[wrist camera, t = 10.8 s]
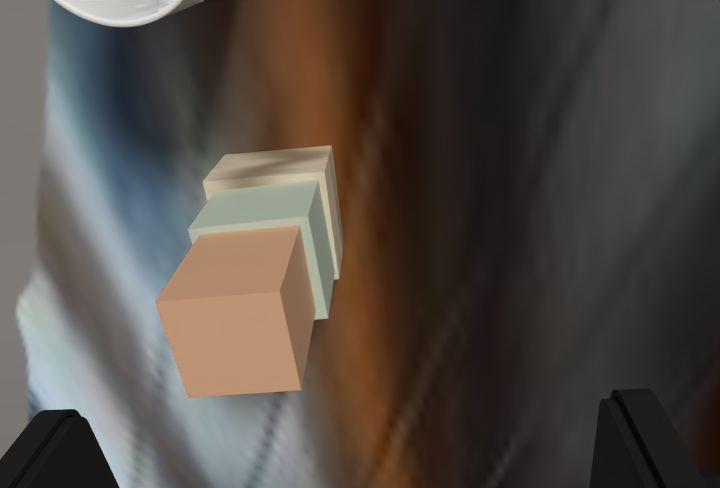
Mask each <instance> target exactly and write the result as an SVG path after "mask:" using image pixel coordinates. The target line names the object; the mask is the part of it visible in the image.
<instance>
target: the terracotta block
mask: <svg viewBox="0 0 720 488" xmlns="http://www.w3.org/2000/svg"><path fill="white" fill-rule="evenodd" d="M155 303H156V306H157V309H158V312H159V314H160V317H161V320H162V323H163V326H164V329H165V332H166V335H167V338H168V341H169V343H170V346H171V349H172V352H173V355H174V358H175V361H176V364H177V367H178V370H179V373H180V375H181V378H182V381H183V384H184V387H185V390H186V393H187V396H188V398H192V397H207V396H222V395H237V394H252V393H267V392H281V391H296V390H301V388H302V383H303V378H304V372H305V367H306V361H307V356H308V351H309V345H310V340H311V334H312V329H313V323H314V318H315V313H316V308H315V303H314V298H313V292H312V287H311V281H310V276H309V271H308V265H307V260H306V254H305V249H304V244H303V238H302V233H301V227H300V225H295V226H284V227H273V228H263V229H252V230H241V231H230V232H219V233H209V234H200V235H199V237H198V238H197V240H196V241H195V243H194V244H193V246H192V247H191V249H190V250H189V252H188V253H187V255H186V256H185V258H184V259H183V261H182V262H181V264H180V265H179V267H178V268H177V270H176V271H175V273H174V274H173V276H172V277H171V279H170V280H169V282H168V283H167V285H166V286H165V288H164V289H163V291H162V292H161V294H160V295H159V297H158V298H157V300H156V301H155Z"/></svg>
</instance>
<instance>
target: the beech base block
mask: <svg viewBox="0 0 720 488" xmlns="http://www.w3.org/2000/svg"><path fill="white" fill-rule="evenodd" d="M316 179H319V185H320V190H321V196H322V201H323V207H324V212H325V218H326V223H327V229H328V234H329V240H330V245H331V251H332V256H333V262H334V267H335V275H334V279H339V275H340V268H341V260H342V252H343V245H344V241H343V233H342V225H341V217H340V209H339V201H338V193H337V185H336V177H335V169H334V161H333V153H332V146H320V147H309V148H297V149H285V150H274V151H262V152H251V153H239V154H227V155H224V156H223V157H222V159H221V160H220V161H219V162H218V163H217V165H216V166H215V167H214V168H213V170H212V171H211V172H210V173H209V174H208V176H207V177H206V178H205V179H204V180H203V186H204V190H205V194H206V198H207V202H208V201H209V199H210V198H211V197H212V195H213V194H214V193H215V191H223V190H231V189H240V188H248V187H256V186H265V185H273V184H282V183H290V182H299V181H307V180H316Z"/></svg>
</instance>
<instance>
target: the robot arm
mask: <svg viewBox="0 0 720 488" xmlns="http://www.w3.org/2000/svg"><path fill="white" fill-rule="evenodd" d="M0 488H119V486H118V484H117V481H116V479H115V477H114V475H113V473H112V471H111V469H110V467H109V465H108V462H107V460H106V458H105V456H104V454H103V452H102V450H101V448H100V446H99V443H98V441H97V439H96V437H95V435H94V433H93V431H92V429H91V427H90V424H89V422H88V421H87V419H86V418H84V417H81V415H80V414H79V412H78V411H76V410H74V409H66V410H43V411H41V412H39V413H38V414H37V415H36V416H35V417H34V418H33V419H32V420H31V422H30V423H29V424H28V425H27V427H26V428H25V429H24V430H23V432H22V433H21V434H20V436H19V437H18V438H17V439H16V441H15V442H14V443H13V444H12V446H11V447H10V448H9V449H8V451H7V452H6V453H5V455H4V456H3V457H2V458H1V460H0ZM589 488H720V475H718V474H717V473H716V472H715V471H711V470H698V468H697V467H696V465H695V463H694V461H693V460H692V458H691V456H690V454H689V453H688V451H687V449H686V447H685V446H684V444H683V442H682V440H681V439H680V437H679V435H678V434H677V432H676V430H675V428H674V427H673V425H672V423H671V421H670V420H669V418H668V416H667V414H666V413H665V411H664V409H663V408H662V406H661V404H660V402H659V401H658V399H657V397H656V395H655V394H654V393H653V391H652V390H650V389H626V390H613V391H612V392H611V396H610V399H602V400H601V401H600V406H599V414H598V422H597V430H596V438H595V446H594V455H593V463H592V471H591V479H590V487H589Z"/></svg>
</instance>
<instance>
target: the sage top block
mask: <svg viewBox="0 0 720 488" xmlns="http://www.w3.org/2000/svg"><path fill="white" fill-rule="evenodd" d="M295 225H300V227H301V233H302V238H303V244H304V249H305V254H306V260H307V265H308V271H309V276H310V281H311V287H312V292H313V298H314V303H315V308H316V313H315V318H314V320H316V319H327V318H328V316H329V309H330V302H331V296H332V289H333V282H334V275H335V267H334V262H333V256H332V251H331V245H330V240H329V234H328V229H327V223H326V218H325V212H324V207H323V201H322V196H321V190H320V185H319V179H316V180H307V181H299V182H290V183H282V184H273V185H265V186H256V187H248V188H240V189H231V190H223V191H215V193H214V194H213V195H212V197H211V198H210V199H209V201H208V202H207V204H206V205H205V206H204V208H203V209H202V210H201V212H200V213H199V215H198V216H197V217H196V219H195V220H194V222H193V223H192V224H191V226H190V227H189V228H188V232H189V235H190V238H191V241H192V244H194V243H195V241H196V240H197V238H198V237H199V235H200V234H209V233H219V232H230V231H241V230H252V229H263V228H273V227H284V226H295Z"/></svg>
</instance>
